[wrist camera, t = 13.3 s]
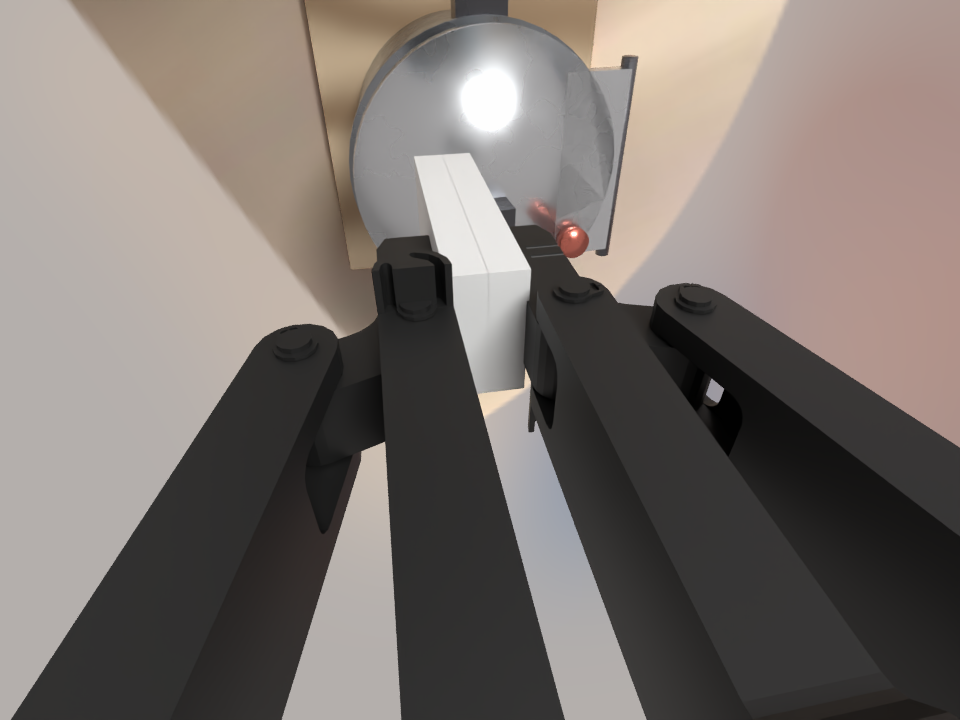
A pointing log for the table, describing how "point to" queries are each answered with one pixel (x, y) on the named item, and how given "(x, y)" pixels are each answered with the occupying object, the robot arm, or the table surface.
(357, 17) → the trivet
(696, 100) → the table surface
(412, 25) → the pot
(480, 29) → the lid
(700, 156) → the table surface
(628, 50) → the table surface
